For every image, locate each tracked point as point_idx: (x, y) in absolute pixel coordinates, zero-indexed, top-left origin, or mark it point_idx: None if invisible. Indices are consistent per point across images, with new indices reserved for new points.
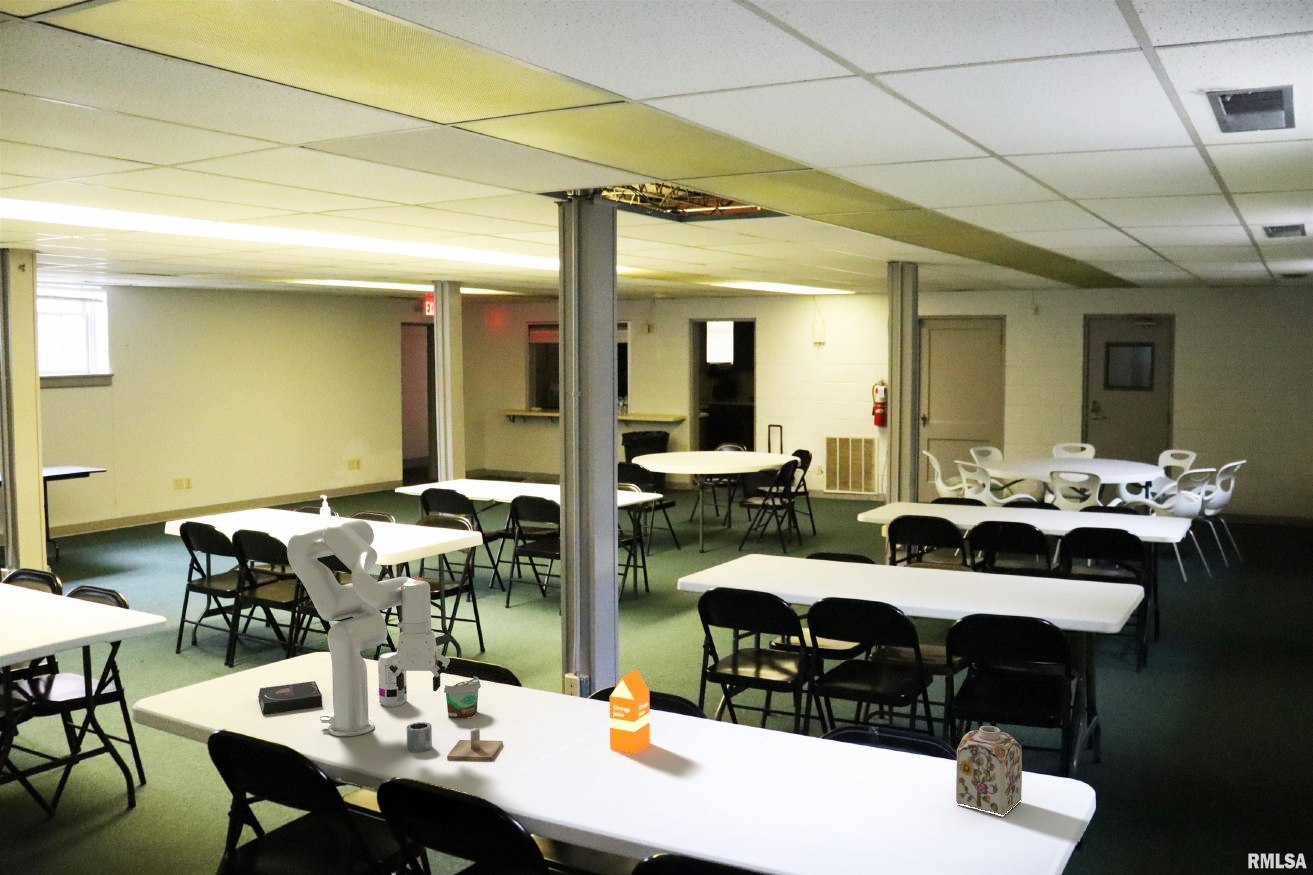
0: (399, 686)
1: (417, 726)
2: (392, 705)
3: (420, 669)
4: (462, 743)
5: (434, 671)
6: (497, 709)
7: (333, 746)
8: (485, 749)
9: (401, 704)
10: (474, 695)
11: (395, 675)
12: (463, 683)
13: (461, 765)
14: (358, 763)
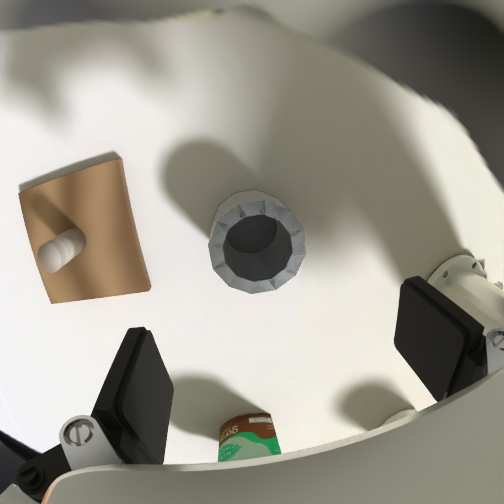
0: (425, 289)
1: (275, 269)
2: (396, 414)
3: (235, 476)
4: (125, 266)
5: (87, 462)
6: (193, 453)
7: (458, 196)
8: (51, 238)
9: (382, 424)
10: None
11: (500, 329)
12: None
13: (71, 134)
14: (367, 84)
